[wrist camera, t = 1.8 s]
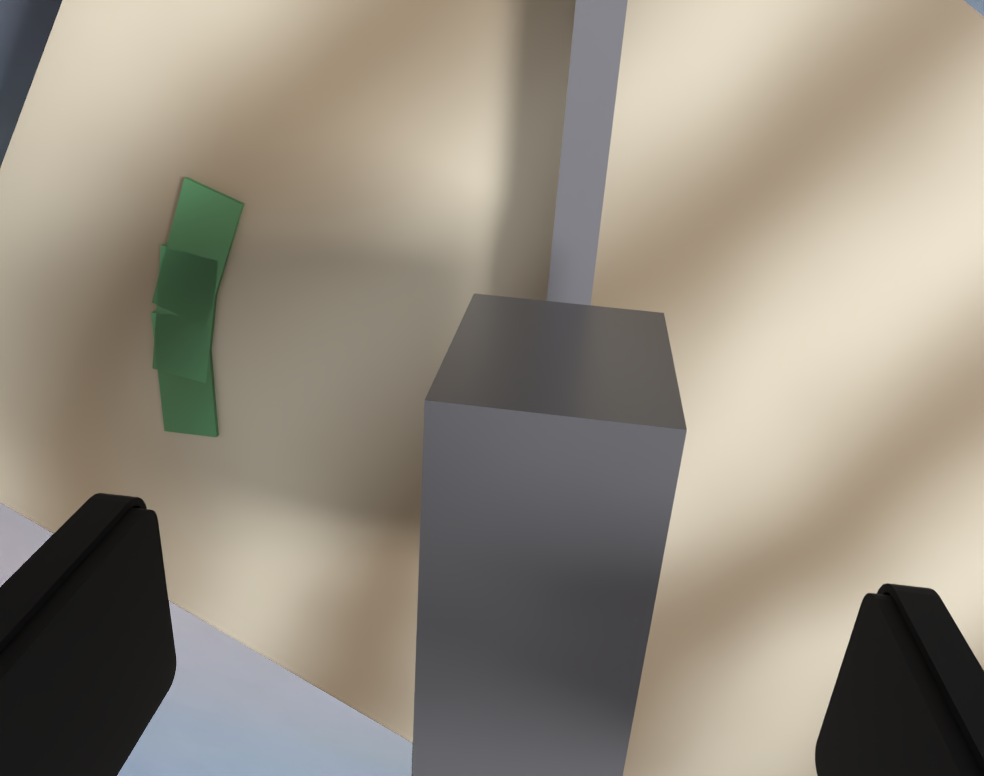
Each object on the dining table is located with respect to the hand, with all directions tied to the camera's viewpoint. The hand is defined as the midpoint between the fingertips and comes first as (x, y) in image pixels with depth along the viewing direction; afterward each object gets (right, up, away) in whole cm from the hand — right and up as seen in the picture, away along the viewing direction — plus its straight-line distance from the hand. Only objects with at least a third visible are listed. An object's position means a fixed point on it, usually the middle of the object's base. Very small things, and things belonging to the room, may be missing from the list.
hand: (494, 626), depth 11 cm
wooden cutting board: (+2, +3, +8) cm, 9 cm away
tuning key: (+1, +5, +5) cm, 7 cm away
